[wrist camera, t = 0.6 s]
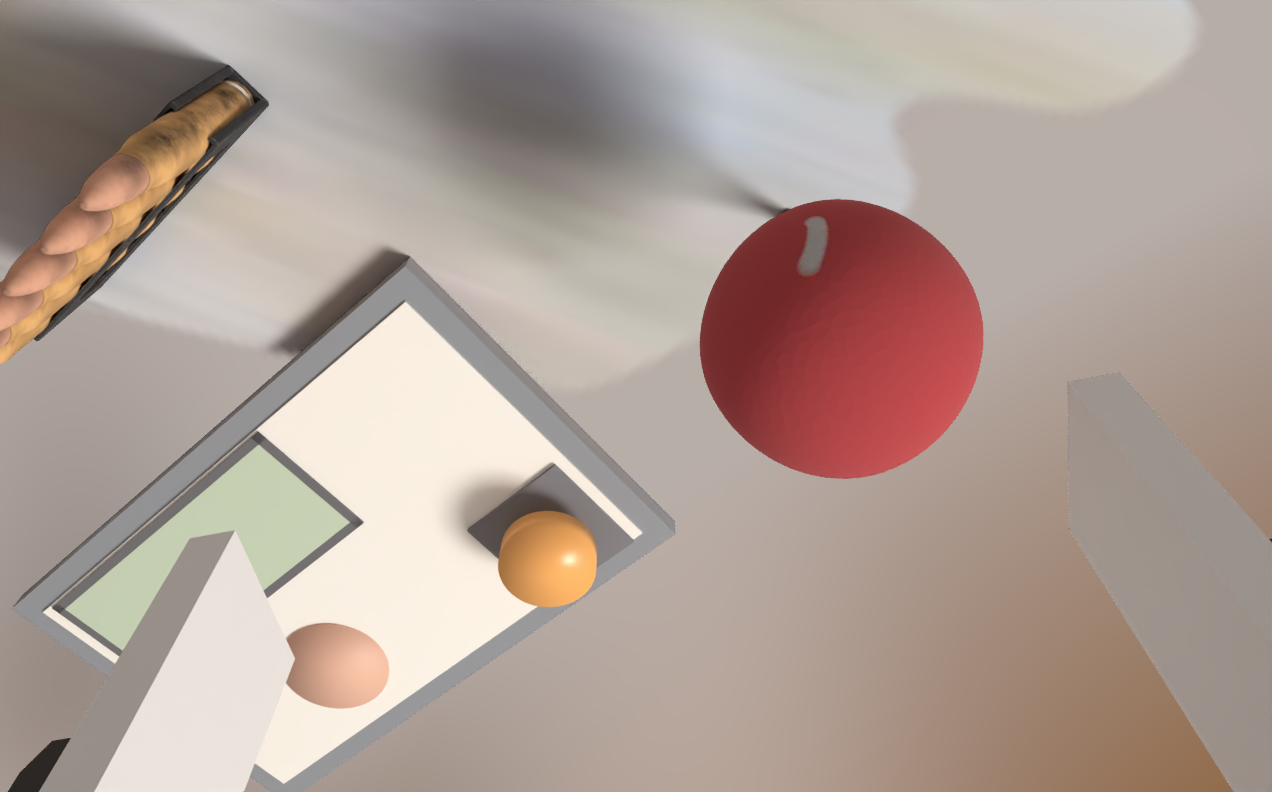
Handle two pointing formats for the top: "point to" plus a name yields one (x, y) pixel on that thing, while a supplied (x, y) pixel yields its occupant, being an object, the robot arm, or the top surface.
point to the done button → (548, 559)
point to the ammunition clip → (122, 206)
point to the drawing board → (363, 521)
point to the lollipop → (841, 339)
